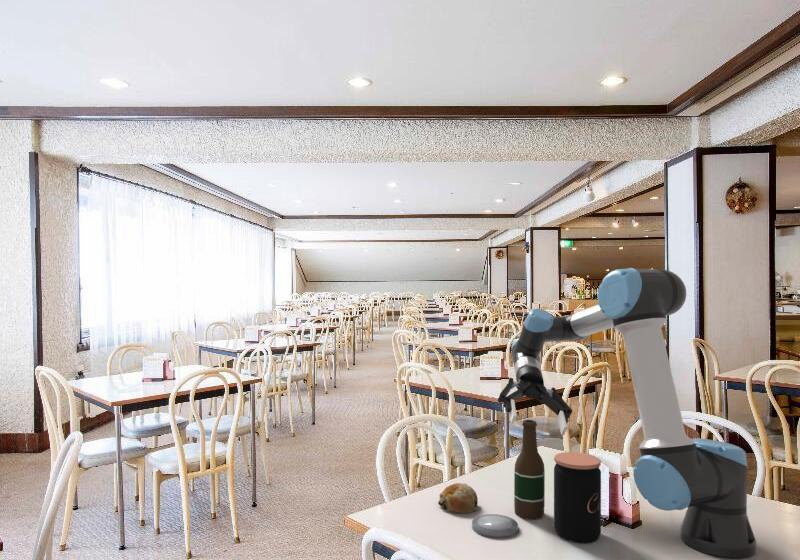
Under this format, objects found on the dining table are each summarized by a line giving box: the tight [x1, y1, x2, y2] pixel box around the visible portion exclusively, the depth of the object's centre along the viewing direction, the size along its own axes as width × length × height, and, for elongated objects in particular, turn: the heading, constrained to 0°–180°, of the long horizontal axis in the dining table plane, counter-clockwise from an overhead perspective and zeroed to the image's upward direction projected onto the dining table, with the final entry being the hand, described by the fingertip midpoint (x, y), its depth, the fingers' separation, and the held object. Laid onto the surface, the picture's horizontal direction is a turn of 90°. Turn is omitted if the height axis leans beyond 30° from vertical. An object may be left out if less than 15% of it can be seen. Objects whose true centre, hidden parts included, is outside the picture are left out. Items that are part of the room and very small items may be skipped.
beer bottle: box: [513, 419, 546, 521], centre depth 148 cm, size 8×8×24 cm
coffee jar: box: [553, 451, 602, 544], centre depth 136 cm, size 11×11×18 cm
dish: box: [471, 513, 519, 539], centre depth 140 cm, size 11×11×1 cm
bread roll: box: [438, 482, 479, 514], centre depth 153 cm, size 10×10×8 cm
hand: (539, 425), depth 148 cm, fingers open, 13 cm apart
